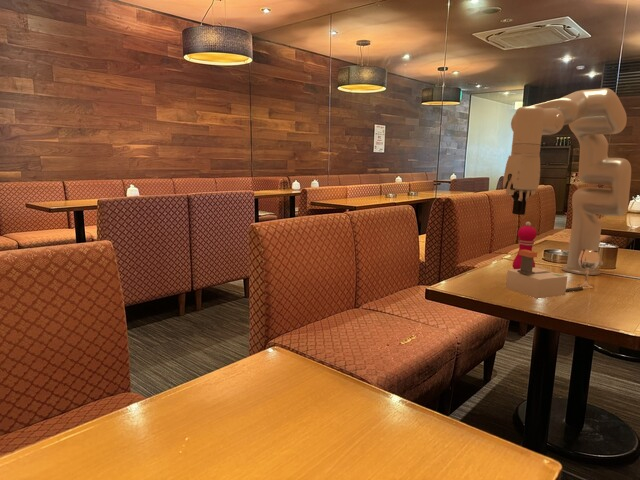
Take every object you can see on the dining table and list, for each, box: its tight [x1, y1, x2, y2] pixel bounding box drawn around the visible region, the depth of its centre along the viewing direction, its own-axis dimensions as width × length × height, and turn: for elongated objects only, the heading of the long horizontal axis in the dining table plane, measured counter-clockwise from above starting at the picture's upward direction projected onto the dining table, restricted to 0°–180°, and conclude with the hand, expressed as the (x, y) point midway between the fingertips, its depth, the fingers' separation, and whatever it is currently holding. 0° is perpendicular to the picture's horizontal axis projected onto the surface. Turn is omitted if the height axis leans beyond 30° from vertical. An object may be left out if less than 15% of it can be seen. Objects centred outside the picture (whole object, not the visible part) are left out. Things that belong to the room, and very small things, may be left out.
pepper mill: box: [511, 221, 538, 269], centre depth 156 cm, size 7×7×20 cm
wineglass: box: [577, 250, 600, 289], centre depth 148 cm, size 6×6×12 cm
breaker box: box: [505, 266, 584, 300], centre depth 143 cm, size 22×12×6 cm, turn 114°
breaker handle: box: [517, 249, 538, 275], centre depth 137 cm, size 3×4×7 cm
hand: (518, 214), depth 132 cm, fingers closed
